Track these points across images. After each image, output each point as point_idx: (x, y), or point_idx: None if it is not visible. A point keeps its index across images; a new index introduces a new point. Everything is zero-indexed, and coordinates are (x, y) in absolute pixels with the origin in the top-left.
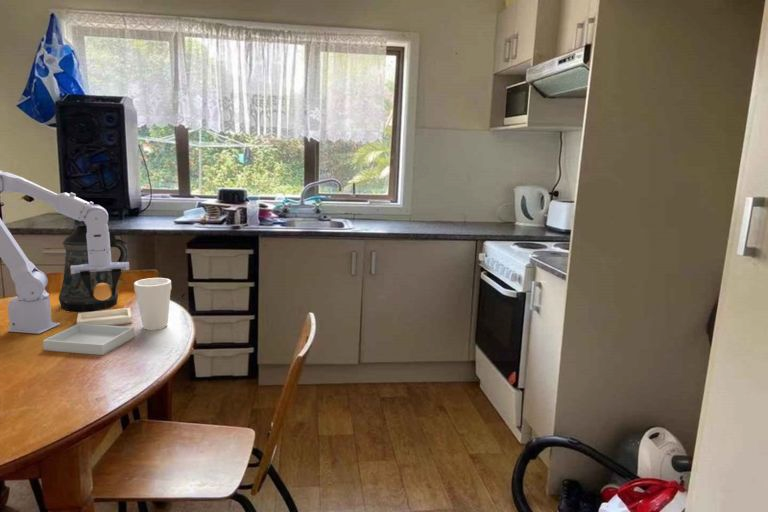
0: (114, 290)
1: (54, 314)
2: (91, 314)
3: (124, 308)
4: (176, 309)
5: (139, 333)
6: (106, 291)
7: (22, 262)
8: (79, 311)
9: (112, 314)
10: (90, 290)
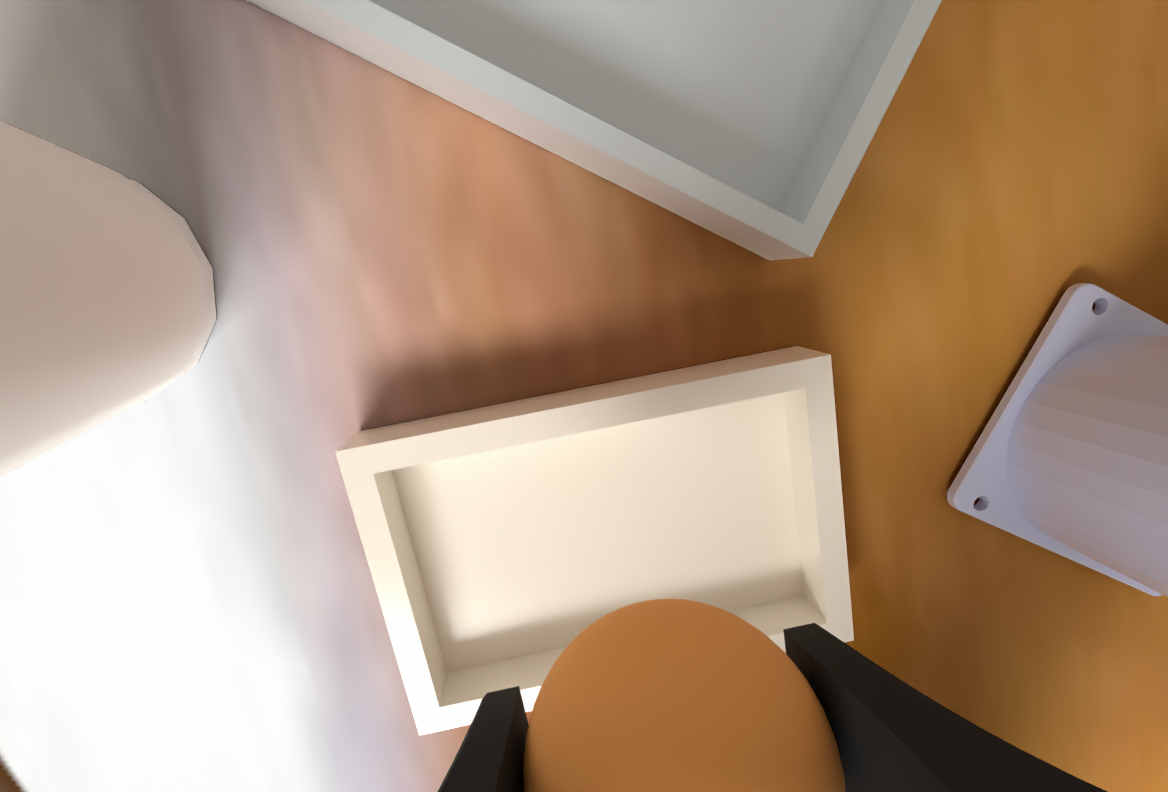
0: (470, 753)
1: None
2: None
3: (467, 719)
4: (33, 763)
5: (206, 94)
6: (594, 682)
7: None
8: None
9: None
10: (880, 691)
